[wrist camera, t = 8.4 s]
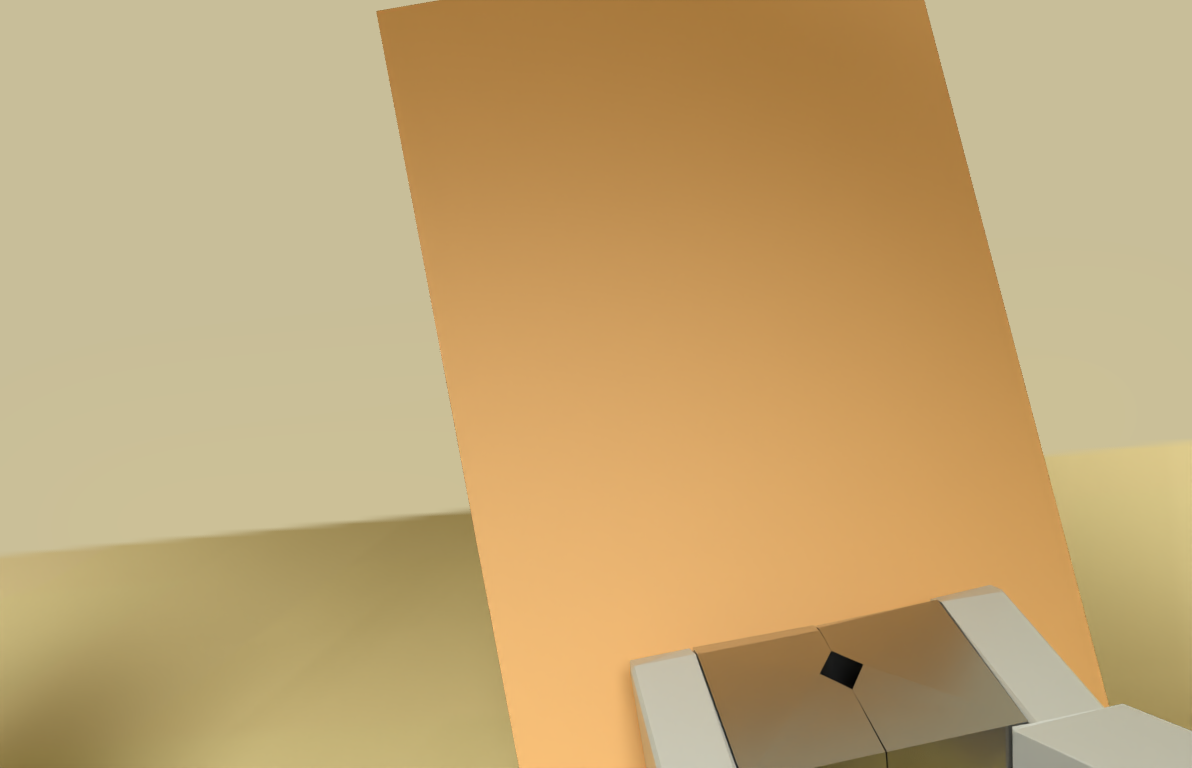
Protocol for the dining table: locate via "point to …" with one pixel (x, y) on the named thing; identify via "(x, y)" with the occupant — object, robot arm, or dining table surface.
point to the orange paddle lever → (713, 337)
